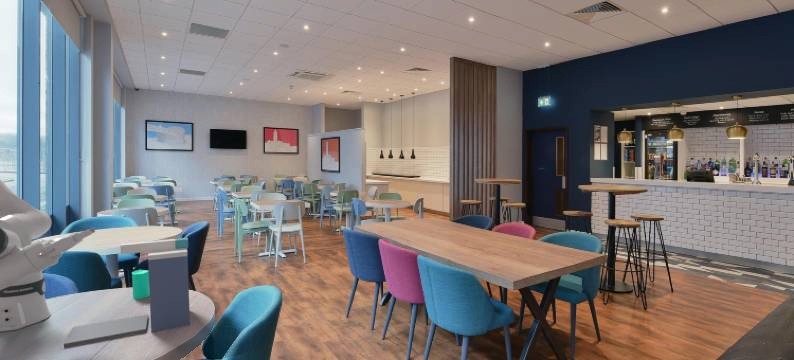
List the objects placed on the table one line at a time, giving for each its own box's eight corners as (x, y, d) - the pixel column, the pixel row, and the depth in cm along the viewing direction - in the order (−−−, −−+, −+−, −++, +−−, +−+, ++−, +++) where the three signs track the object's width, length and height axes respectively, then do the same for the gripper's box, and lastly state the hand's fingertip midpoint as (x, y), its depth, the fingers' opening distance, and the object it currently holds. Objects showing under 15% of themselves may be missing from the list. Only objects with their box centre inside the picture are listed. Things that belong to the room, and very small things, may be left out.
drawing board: (63, 347, 124) (63, 343, 124) (73, 330, 136) (73, 326, 136) (146, 332, 134) (145, 328, 134) (148, 317, 146) (147, 314, 146)
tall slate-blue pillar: (151, 332, 134) (148, 255, 132) (153, 315, 148) (150, 246, 146) (189, 325, 140) (187, 251, 138) (188, 309, 154) (185, 242, 152)
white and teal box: (120, 254, 134) (120, 245, 134) (121, 252, 137) (121, 243, 137) (188, 247, 144) (187, 239, 143) (187, 245, 147) (187, 237, 146)
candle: (131, 296, 168) (129, 268, 167) (147, 292, 172) (146, 265, 172) (135, 300, 164) (133, 271, 163) (151, 296, 168) (150, 268, 167)
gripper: (29, 248, 117) (82, 223, 123) (44, 242, 134) (90, 220, 141) (43, 266, 118) (94, 241, 125) (56, 258, 135) (100, 236, 142)
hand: (92, 230), depth 133 cm, fingers open, 8 cm apart
